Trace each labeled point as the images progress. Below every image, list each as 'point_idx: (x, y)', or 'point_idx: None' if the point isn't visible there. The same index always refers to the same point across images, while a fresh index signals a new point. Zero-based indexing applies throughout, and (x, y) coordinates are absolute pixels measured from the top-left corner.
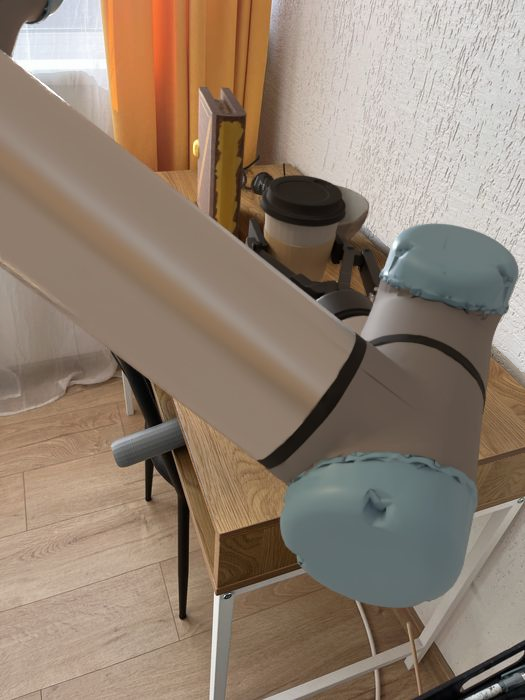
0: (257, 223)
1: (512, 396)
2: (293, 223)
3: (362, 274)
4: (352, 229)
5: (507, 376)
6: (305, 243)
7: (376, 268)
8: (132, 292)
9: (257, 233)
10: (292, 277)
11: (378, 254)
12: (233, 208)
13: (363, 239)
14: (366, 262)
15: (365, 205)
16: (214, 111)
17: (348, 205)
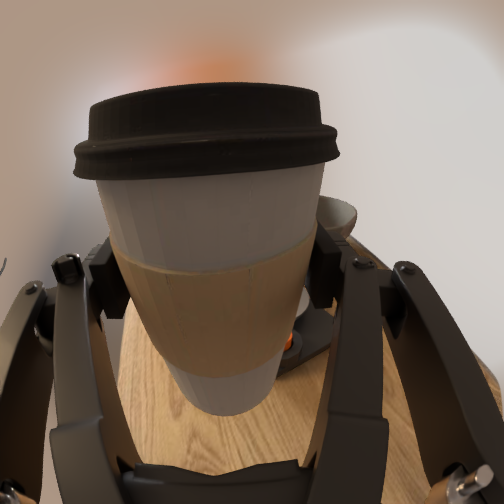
0: None
1: (497, 405)
2: (105, 175)
3: (401, 351)
4: (343, 233)
5: (492, 381)
6: (184, 258)
7: (460, 345)
8: None
9: None
10: (51, 440)
11: (367, 256)
12: None
13: (353, 243)
14: (424, 320)
15: (353, 211)
16: None
17: (337, 213)
